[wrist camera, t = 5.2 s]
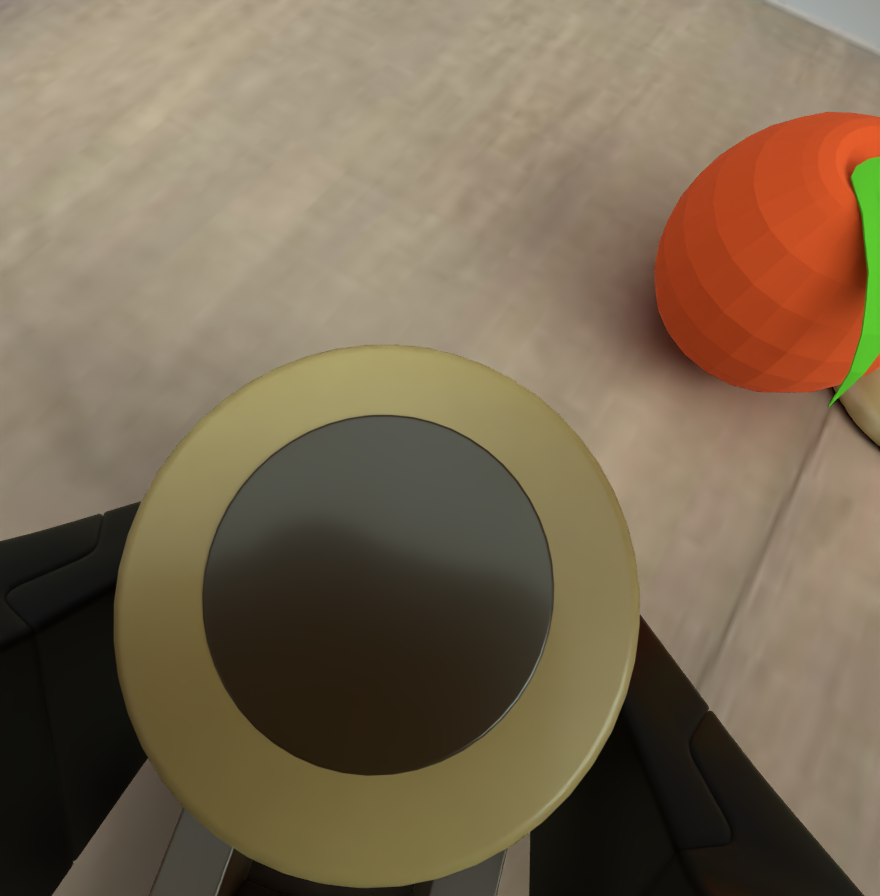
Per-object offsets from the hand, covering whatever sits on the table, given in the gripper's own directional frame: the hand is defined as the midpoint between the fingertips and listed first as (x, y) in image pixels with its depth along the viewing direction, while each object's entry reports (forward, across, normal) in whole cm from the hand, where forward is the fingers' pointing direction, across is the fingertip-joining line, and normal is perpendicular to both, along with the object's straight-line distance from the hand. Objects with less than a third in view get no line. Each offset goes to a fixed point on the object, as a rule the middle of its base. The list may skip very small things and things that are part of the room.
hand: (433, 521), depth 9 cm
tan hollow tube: (+4, 0, +6) cm, 7 cm away
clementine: (+12, -7, -2) cm, 14 cm away
